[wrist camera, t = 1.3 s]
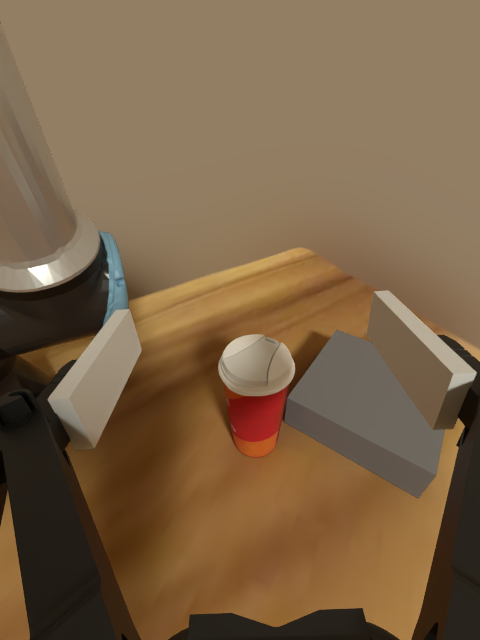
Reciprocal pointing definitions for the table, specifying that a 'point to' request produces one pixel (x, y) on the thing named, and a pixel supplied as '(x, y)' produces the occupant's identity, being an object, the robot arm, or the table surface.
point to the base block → (365, 414)
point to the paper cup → (256, 391)
